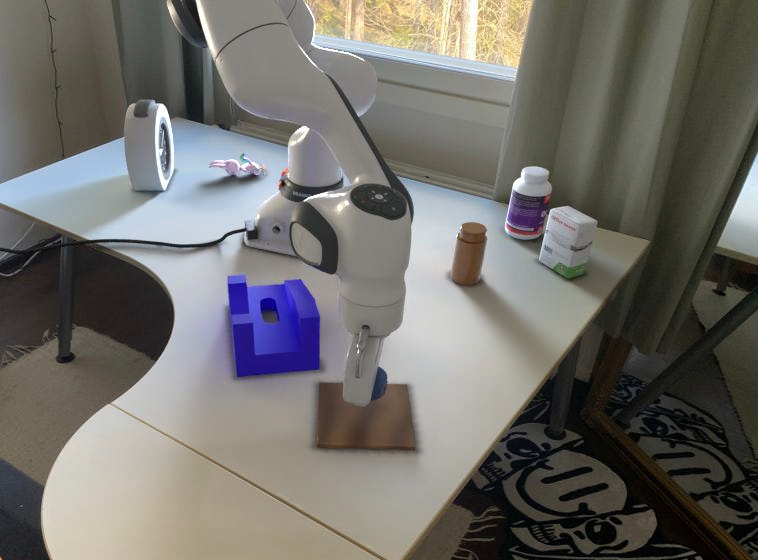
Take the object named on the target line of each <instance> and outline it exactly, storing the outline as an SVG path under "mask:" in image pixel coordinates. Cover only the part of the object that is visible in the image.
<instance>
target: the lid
mask: <svg viewBox="0 0 758 560" xmlns="http://www.w3.org/2000/svg"><path fill="white" fill-rule="evenodd" d="M388 382H389V381H388V374H387V372H386V370H385V369H384V368H383V367H382V366H381V367H380V366H379V365H378V370H377V374H376V379H375V383H374V387H373V392H372V396H371V400H370V401H374V400H377V399H379V398H381V397H382V396H383V395H384V394H385V392H386V390H387V384H388Z"/></svg>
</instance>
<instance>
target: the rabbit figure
mask: <svg viewBox="0 0 758 560" xmlns="http://www.w3.org/2000/svg"><path fill="white" fill-rule="evenodd" d="M245 156H247V154H246V153H241V154H240V155H239V159H240V161H241V162H243V164H242V166H241V164H240V163H239V161H238V160H236V159H228V160H227V159H226V160H221V159H217V160H216V159H215V160H213V161H211V162H210V163H208V165H207V166H208V168H209V169H210V168H220V169H222V170H225V172H226V173H227V174H231V175H232V176H237V175H239V174H240V171H242V172H243V173H245V174H252V175H254V176H258V175H260V174H261V171H263V173H264V175H266V174H267V167H266V164H264V165H263V164H262V163H259V164H257V163H256V162H252V161H251V160H250V159H249V158H248V157H245Z"/></svg>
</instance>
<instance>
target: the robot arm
mask: <svg viewBox="0 0 758 560" xmlns="http://www.w3.org/2000/svg"><path fill="white" fill-rule="evenodd" d="M165 1H166V6H167V9H168V11H169V15H170V18H171V20H172V22H173V24H174V26H175V28H176V29H177V31H179V33H180V34H181V36H182V37H184V39H185V40H186V41H187V42H188V43H189V44H190V45H192V46H194V47H198V48H201V49H208V50H209V52H210V56H211V58H212V60H213V62H214V66H215V67H216V69H217V72H218V74H219V77H220V79H221V81H222V83H223V86H224V87H225V90H226V91H227V93H228V95H229V96H230V98H231V99H232V100H233V101H234V103H235V104H236V105H237V106H238V107H239V108H240V109H242V110H244V111H246V112H247V113H249V114H252V115H254V116H256V117H259V118H263V119H267V120H275V121H282V122H288V123H291V124H295V125H299V126H301V127H300V128H299V129H297V130H296V131H294V132H293V133H292V135H291V136H290V138H289V140H288V143H287V161H288V163H287V167H288V168H284V169H283V170H282V172H281V173H280V177H279V180H278V181H279V183H277V184H278V191H277V192H276V193H274V194H273V195H271V196H270V197H268V198H266V199H265V200H264V201H263V202H262V203H261V204H260V205H259V207H258V208H257V211H256V214H255V218H254V219H248V220H246V219H245V220H244V227H243V228H237V229H234V230H230V231H227V232H226V233H224V235H222V236H221V237H220V238H218V239H214V240H212V241H209V242H203V243H201V242H200V243H171V242H164V241H154V240H145V239H144V240H143V239H131V238H129V239H128V238H96V239H86V240H84V239H83V240H76V241H68V242H63V243H55V244H51V245H45V246H41V247H36V248H29V249H23V250H22V249H21V250H18V249H11V248H6V247H0V252H4V253H9V254H14V255H26V254H32V253H39V252H43V251H49V250H53V249H59V248H65V247H71V246H79V245H87V244H104V243H105V244H106V243H121V244H122V243H124V244H140V245H150V246H151V245H152V246H161V247H168V248H177V249H192V248H203V247H205V248H206V247H211V246H214V245H217V244H220V243H222V242H224V241H225V240H226V239H227V238H228V237H230V236H232V235H236V234H240V233H244V239H243V241H244V243H245V245H246V246H247V247H249V248H250V247H251V248H255V249H260V250H265V251H269V252H273V253H279V254H284V255H289V256H293V257H297V258H298V259H299V260H301V262H304V264H306V265H308V266H309V267H312V268H313V269H315V270H318V271H320V272H322V273H325V274H327V275H336V276H337V278H338V279H339V283H338V293H337V294H338V295H337V296H338V299H337V320H338V322H339V324H340V325H341V326H342V327H343V328H344V329H345V330H346V331H347V332H348V334H349V335H350V336H351V340H350V342H349V346H348V349H347V353H346V358H345V362H344V375H343V383H344V385H343V399H344V401H345V402H348V403H353V404H355V405H356V406H362V407H365V406H366V405H368V404H369V403H370V400H371V396H372V392H373V387H374V383H375V379H376V374H377V370H378V366H379V365H380V361H381V357H382V351H383V347H384V343H385V340H386V338H388V337H389V336H391V334H392V333H393V332H395V331H397V330H398V329H399V328H400V327H401V326H402V325H403V321H404V313H405V302H406V293H407V284H406V280H405V275H406V272H407V270H408V267H409V264H410V259H411V248H412V225H413V221H414V216H415V207H414V202H413V199H412V196H411V194H410V192H409V190H408V189H407V187H406V186H405V185H404V183H403V182H402V181H401V179H400V178H399V177H398V176H397V175H396V174H395V173H394V171H393V170H392V169H391V168H390V167H389V165H388V163H387V162H386V161H385V159H384V157H383V156H382V154H381V152H380V151H379V148H378V147H377V146H376V143H375V142H374V140H373V139H372V137H371V136H370V134H369V132H368V130H367V129H366V127H365V125H364V124H363V122H362V120H361V118H360V117H361V116H363V115H364V114H365V113H367V112H368V111H369V109H371V107H372V106H373V104H374V102H375V100H376V98H377V94H378V89H379V80H378V75H377V72H376V69H375V67H374V66H373V64H371V62H369V61H367V60H364V59H363V58H362V57H359V56H357V55H354V54H352V53H349V52H346V51H345V52H344V51H338V50H334V49H329V48H323V47H321V46H317V45H316V44H314V43H313V41H314V37H315V31H316V21H315V17H314V14H313V13H312V11H311V10H310V8H309V6H308V4H307V3H306V1H305V0H165ZM342 172H343V174H344V175H345V177H346V179H347V180H348V182H349V185H347V186H345V183H344V175H343V174H342Z"/></svg>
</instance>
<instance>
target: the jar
mask: <svg viewBox="0 0 758 560" xmlns="http://www.w3.org/2000/svg"><path fill="white" fill-rule="evenodd" d="M487 232H488V228H487V227H486V225H484V224H482V223H480V222H476V221H475V222H474V221H467V222H463V223H462V224H461V225H460V228H459V232H458V233H457V234H456V238H455V244H454V251H453V256H452V257H453V258H452V263H451V271H450V279H451V280H452V281H453V282H454V283H457V284H459V285H462V286H473V285H476V284H478V283H479V282H480V281H481V275H482V270H483V269H482V268H483V264H484V259H485V255H486V249H487V243H488V236H487V235H486V234H487Z"/></svg>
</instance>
